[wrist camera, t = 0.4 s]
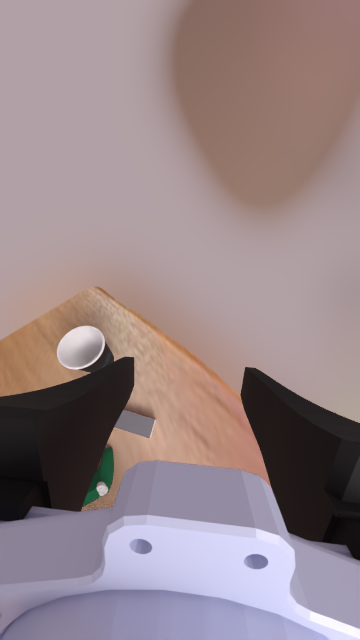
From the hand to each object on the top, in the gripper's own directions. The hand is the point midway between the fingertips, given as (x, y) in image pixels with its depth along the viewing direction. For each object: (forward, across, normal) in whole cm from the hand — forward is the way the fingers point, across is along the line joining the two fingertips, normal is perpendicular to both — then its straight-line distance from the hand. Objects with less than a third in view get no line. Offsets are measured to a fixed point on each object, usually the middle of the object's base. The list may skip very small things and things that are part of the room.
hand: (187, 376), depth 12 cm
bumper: (+19, +13, +22) cm, 32 cm away
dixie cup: (+26, +18, +14) cm, 35 cm away
